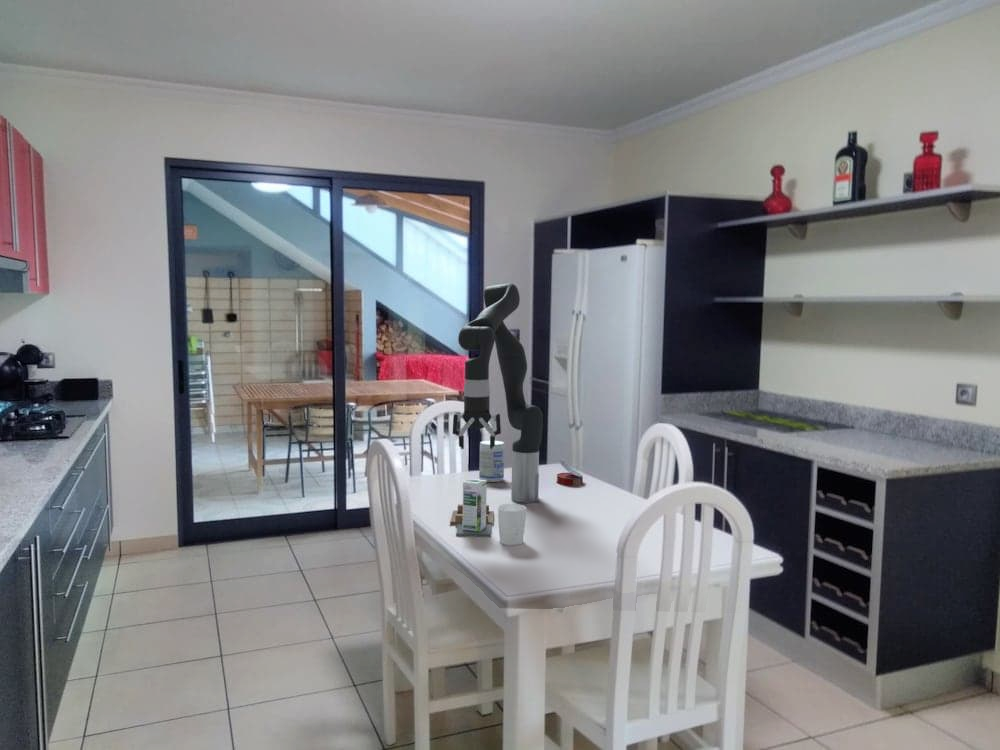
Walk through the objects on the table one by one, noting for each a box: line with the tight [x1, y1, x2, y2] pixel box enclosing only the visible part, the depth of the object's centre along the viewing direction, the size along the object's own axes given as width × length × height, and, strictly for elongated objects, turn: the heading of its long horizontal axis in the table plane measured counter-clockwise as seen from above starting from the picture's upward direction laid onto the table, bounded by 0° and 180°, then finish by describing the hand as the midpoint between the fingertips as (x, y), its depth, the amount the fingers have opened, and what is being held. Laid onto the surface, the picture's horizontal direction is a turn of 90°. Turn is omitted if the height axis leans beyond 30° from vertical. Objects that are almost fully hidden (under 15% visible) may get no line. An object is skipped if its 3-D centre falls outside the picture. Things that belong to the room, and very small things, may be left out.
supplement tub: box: [478, 440, 505, 483], centre depth 280 cm, size 10×10×15 cm
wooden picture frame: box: [449, 503, 495, 527], centre depth 227 cm, size 13×12×3 cm
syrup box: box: [462, 478, 488, 532], centre depth 215 cm, size 6×6×14 cm
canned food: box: [556, 460, 584, 487], centre depth 278 cm, size 11×10×10 cm
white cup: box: [497, 503, 527, 546], centre depth 206 cm, size 8×8×10 cm
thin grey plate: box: [455, 523, 492, 538], centre depth 215 cm, size 10×10×1 cm
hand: (476, 448), depth 216 cm, fingers open, 8 cm apart
